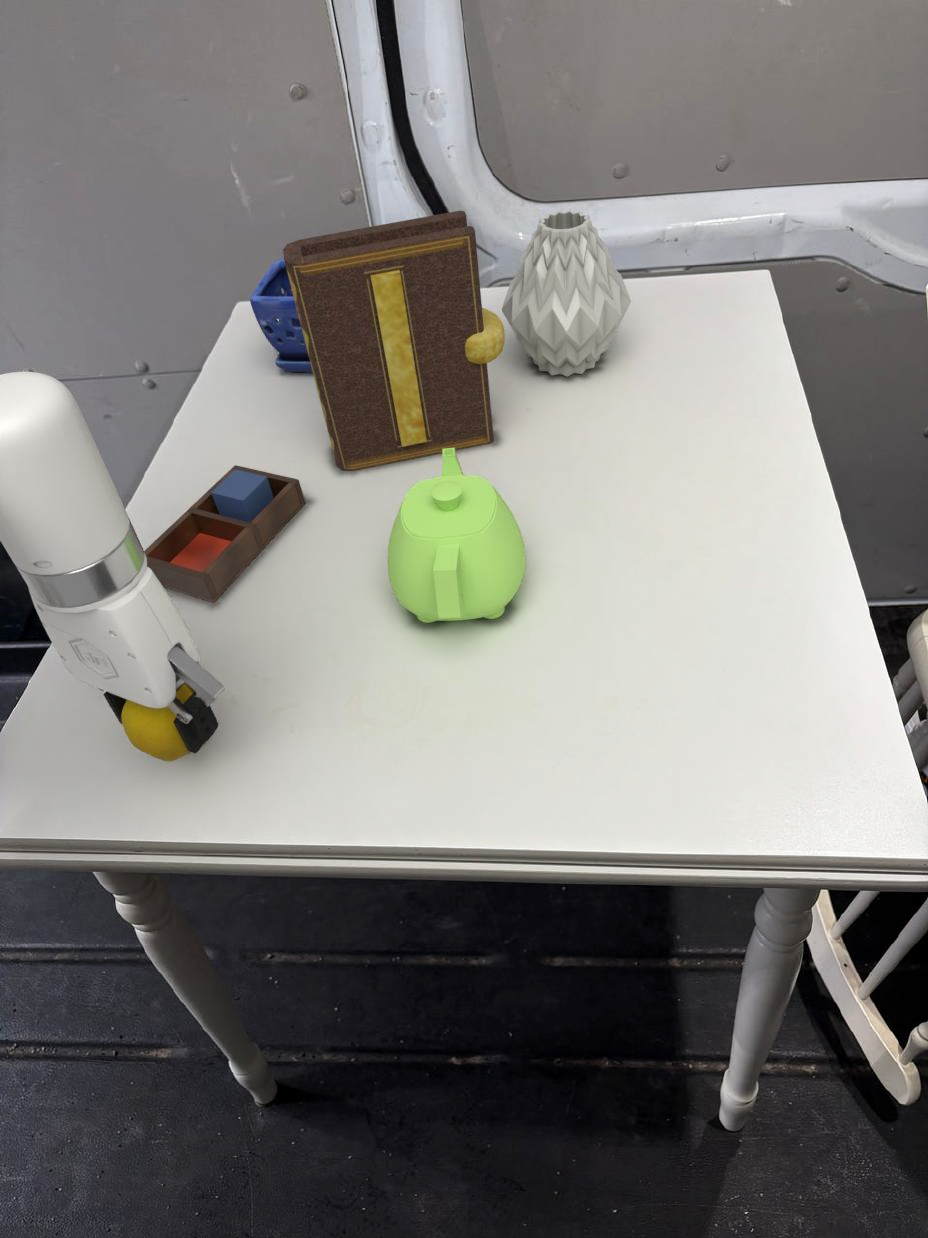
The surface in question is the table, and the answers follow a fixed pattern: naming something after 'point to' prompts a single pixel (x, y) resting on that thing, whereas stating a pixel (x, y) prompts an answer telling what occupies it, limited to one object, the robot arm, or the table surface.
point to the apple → (155, 729)
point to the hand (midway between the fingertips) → (169, 724)
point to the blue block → (242, 495)
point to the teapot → (455, 548)
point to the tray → (219, 540)
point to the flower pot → (280, 319)
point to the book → (397, 338)
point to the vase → (566, 295)
